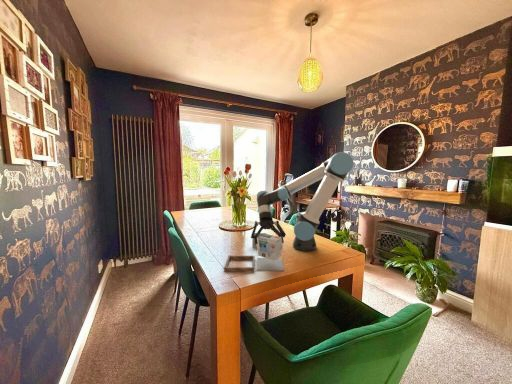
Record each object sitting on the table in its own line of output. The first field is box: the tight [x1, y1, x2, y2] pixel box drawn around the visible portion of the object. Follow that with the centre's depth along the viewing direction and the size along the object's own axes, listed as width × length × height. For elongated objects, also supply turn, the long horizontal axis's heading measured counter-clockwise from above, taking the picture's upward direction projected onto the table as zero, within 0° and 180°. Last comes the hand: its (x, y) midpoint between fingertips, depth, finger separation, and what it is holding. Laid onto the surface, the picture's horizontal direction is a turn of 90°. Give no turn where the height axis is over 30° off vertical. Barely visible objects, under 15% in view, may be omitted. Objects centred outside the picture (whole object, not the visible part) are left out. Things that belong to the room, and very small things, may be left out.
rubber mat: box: [256, 257, 285, 272], centre depth 116 cm, size 14×14×1 cm
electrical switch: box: [252, 232, 267, 248], centre depth 141 cm, size 9×5×9 cm, turn 86°
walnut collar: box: [223, 254, 256, 273], centre depth 115 cm, size 15×15×2 cm
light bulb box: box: [257, 233, 282, 260], centre depth 114 cm, size 11×7×11 cm, turn 59°
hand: (270, 249), depth 112 cm, fingers closed on light bulb box, 12 cm apart
